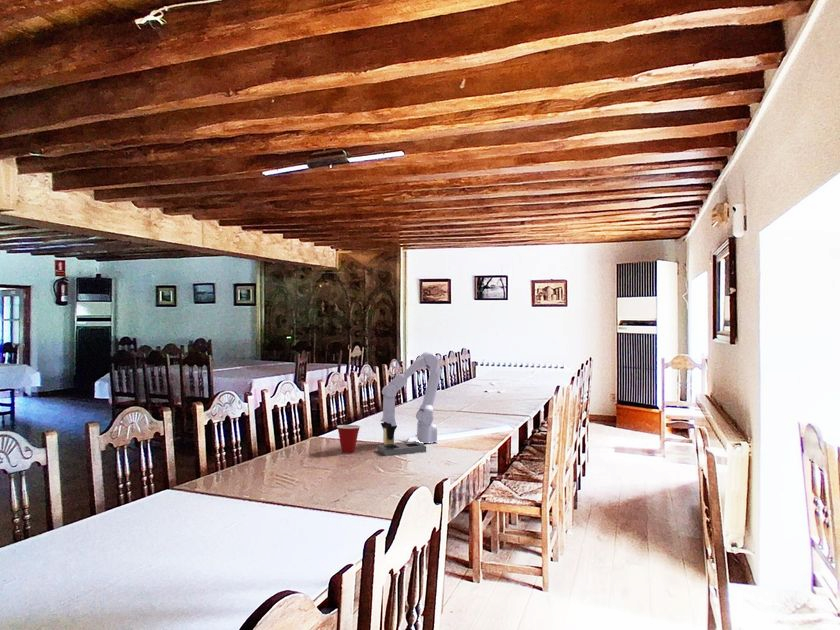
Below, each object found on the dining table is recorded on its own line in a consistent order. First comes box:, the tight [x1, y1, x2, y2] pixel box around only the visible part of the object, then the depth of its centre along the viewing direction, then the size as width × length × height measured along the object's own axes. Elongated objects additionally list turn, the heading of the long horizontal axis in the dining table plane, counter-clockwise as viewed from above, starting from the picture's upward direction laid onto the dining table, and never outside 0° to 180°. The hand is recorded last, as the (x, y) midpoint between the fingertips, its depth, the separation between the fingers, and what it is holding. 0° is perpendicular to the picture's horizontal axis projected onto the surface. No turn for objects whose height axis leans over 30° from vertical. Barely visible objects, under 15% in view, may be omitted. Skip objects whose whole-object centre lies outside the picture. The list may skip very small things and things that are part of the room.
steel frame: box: [377, 441, 427, 456], centre depth 247 cm, size 20×10×2 cm, turn 113°
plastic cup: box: [336, 424, 361, 454], centre depth 246 cm, size 11×11×12 cm
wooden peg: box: [382, 427, 395, 445], centre depth 261 cm, size 4×4×8 cm
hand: (388, 438), depth 261 cm, fingers closed on wooden peg, 4 cm apart
